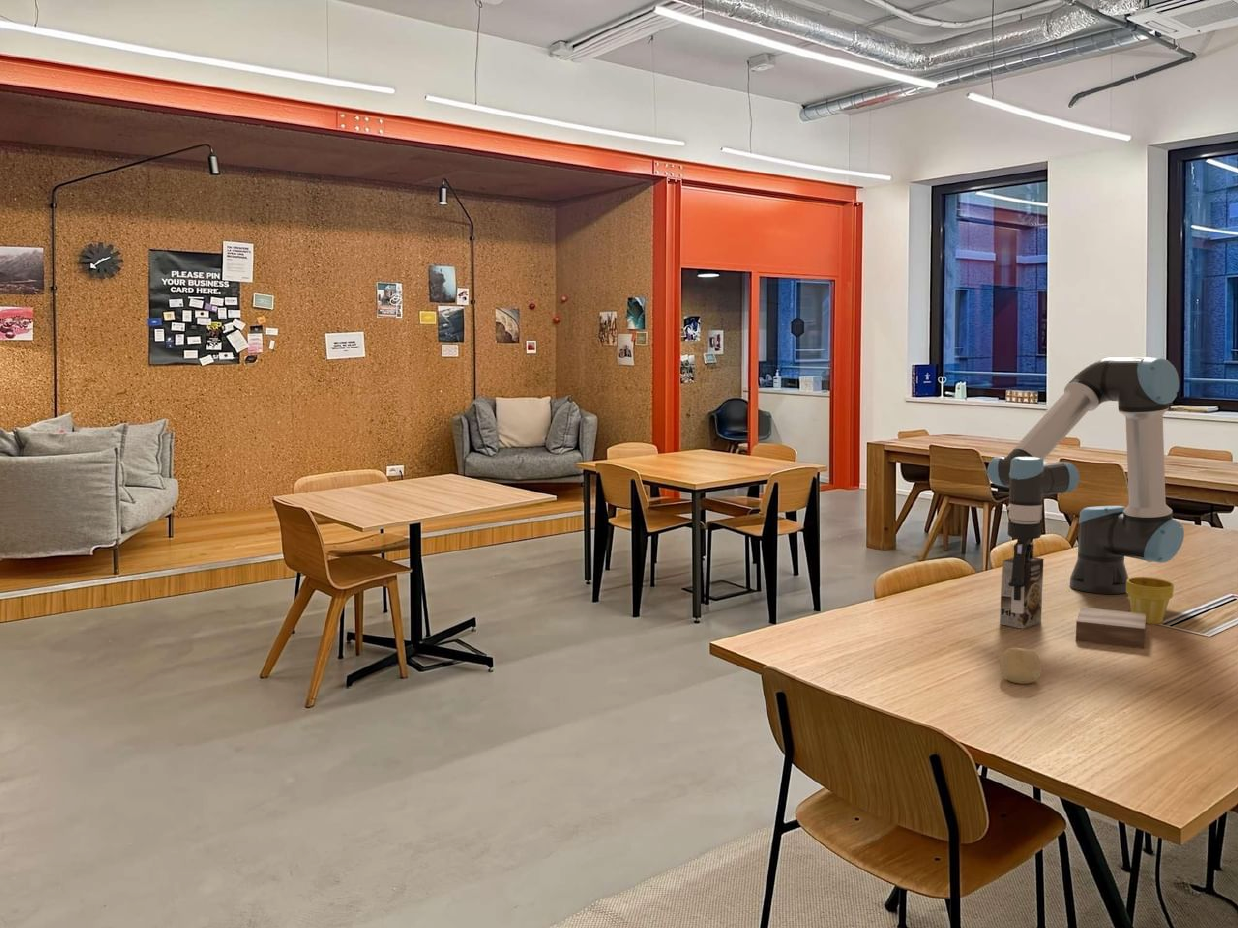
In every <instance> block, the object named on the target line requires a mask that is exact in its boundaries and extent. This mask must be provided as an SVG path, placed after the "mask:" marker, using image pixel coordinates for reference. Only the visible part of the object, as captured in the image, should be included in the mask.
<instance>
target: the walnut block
mask: <svg viewBox="0 0 1238 928" xmlns="http://www.w3.org/2000/svg"><path fill="white" fill-rule="evenodd" d="M1075 622H1076V625H1075V627H1076V628H1075V641H1076V642H1083V643H1093V644H1102V645H1107V646H1108V645H1109V646H1118V647H1125V648H1132V649H1133V648H1134V649H1141V650H1142V649H1143V650H1144V649H1145V637H1146V624H1147V623H1146V614H1145V613H1135V612H1131V611H1125V610H1117V609H1116V610H1115V609H1104V608H1095V607H1087V606H1086V607H1085V606H1080V608H1079V611H1078V615H1077V619H1076V621H1075Z"/></svg>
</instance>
